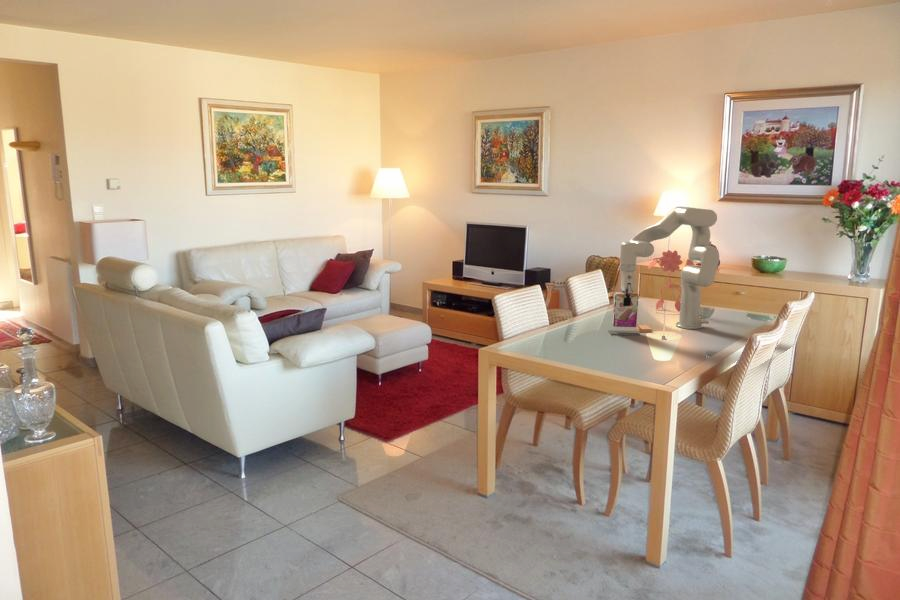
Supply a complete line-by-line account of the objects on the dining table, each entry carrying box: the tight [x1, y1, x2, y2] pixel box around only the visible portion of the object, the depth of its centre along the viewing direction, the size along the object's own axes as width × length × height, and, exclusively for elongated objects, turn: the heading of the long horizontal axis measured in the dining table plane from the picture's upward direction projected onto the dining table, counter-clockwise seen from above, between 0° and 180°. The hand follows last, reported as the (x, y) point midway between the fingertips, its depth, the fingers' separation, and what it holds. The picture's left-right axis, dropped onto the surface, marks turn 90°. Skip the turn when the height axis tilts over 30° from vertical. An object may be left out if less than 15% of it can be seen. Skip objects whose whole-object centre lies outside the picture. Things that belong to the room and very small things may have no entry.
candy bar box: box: [611, 291, 639, 328], centre depth 322 cm, size 11×5×16 cm, turn 84°
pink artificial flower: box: [647, 249, 695, 316], centre depth 368 cm, size 15×26×35 cm, turn 56°
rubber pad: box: [608, 329, 641, 336], centre depth 324 cm, size 14×7×1 cm, turn 87°
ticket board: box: [635, 324, 652, 333], centre depth 330 cm, size 6×8×2 cm
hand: (625, 304), depth 321 cm, fingers closed on candy bar box, 5 cm apart
